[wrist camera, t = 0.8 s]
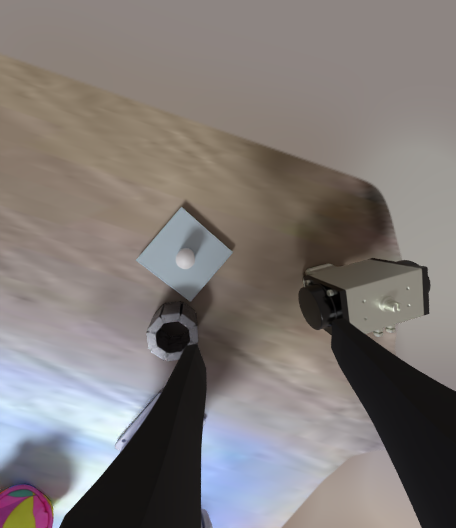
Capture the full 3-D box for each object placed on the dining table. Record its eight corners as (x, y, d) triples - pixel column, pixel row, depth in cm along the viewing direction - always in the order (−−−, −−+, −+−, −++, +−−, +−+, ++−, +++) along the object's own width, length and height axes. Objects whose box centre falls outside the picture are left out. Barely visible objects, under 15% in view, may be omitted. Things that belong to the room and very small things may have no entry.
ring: (178, 349, 29) (176, 368, 25) (144, 326, 27) (136, 342, 23) (205, 318, 28) (207, 332, 25) (172, 293, 27) (169, 304, 23)
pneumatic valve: (275, 271, 29) (332, 300, 17) (354, 251, 30) (455, 265, 19) (282, 309, 30) (340, 360, 18) (358, 288, 32) (456, 323, 20)
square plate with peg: (190, 299, 28) (190, 310, 24) (137, 259, 26) (128, 264, 22) (231, 251, 28) (238, 255, 24) (181, 207, 26) (180, 204, 22)
